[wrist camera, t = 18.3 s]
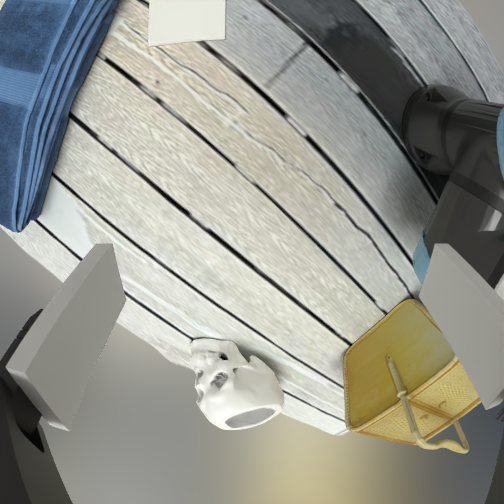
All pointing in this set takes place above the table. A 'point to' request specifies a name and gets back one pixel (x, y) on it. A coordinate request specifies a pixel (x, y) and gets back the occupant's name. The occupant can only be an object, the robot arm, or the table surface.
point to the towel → (40, 92)
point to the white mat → (185, 21)
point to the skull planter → (234, 386)
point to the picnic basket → (406, 381)
